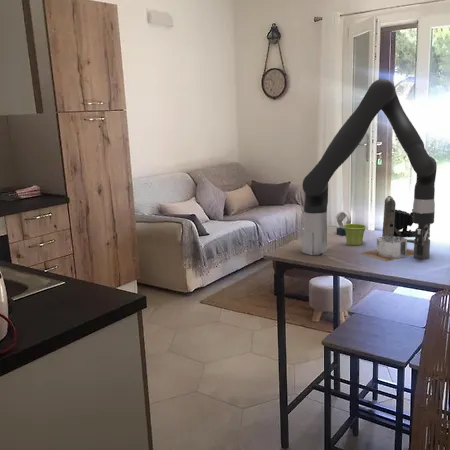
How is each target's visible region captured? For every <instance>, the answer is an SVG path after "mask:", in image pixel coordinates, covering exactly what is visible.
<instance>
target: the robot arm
mask: <svg viewBox="0 0 450 450" xmlns="http://www.w3.org/2000/svg"><path fill="white" fill-rule="evenodd" d="M380 111H382V112H383V114H384V115H385V116H386V118H387V119H388V122H389V123H390V125H391V128H392V130H393V132H394V135H395V136H396V140H398V142H399V143H400V146H401V147H402V149H403V150H404V152H405V153H406V156H407V157H408V160H409V163H410V165H411V167H412V170H413V171H414V172H415V174H416V180H415V181H416V182H415V185H414V190H413V191H414V192H413V193H414V194H413V204H412V205H413V206H412V209H413V224H415V225H418V226H417V227H416V229H415V230H414V231H416V234H415V237H414V239H415V245H417V252H416V254H417V255H420V256H422V255H423V245H424V241H425V240H426V239H430V236H431V225H432V224H435V213H436V212H435V211H436V209H435V208H436V203H435V194H436V191H435V189H436V188H435V187H436V177H437V166H438V165H437V161H436V160H435V158H434V157H432V156H430V155H429V153H428V152H427V150H426V148H425V144H424V141H423V139H422V138H421V136H420V134H419V133H418V131H417V129H416V128H415V126H414V125H413V123H412V121H411V120H410V119H409V117H408V116H407V114H406V112H405V111H404V108H403V106H402V105H401V102H400V99H399V97H398V93H397V91H396V87H395V85H394V83H392V82H391V81H390V80H389V79H386V78H379V79H376V80H375V81H373V82H372V83H371V85H370V86H369V87H368V89H367V91H366V92H365V95H363V98H362V100H361V101H360V103H359V104H358V106H357V108H356V109H355V110H354V111H353V113H352V114H351V115H350V116H349V117H348V118H347V120H346V121H345V122H344V124H343V125H342V126H341V127H340V128H339V130H338V132H337V133H336V134H335V135H334V137H333V139H332V141H330V143H329V145H328V147H326V150H324V153H323V155H322V156H321V159H319V161H318V163H317V164H316V165H315V166H314V167H313V169H311V171H309V172H308V174H307V175H306V176H304V179H303V180H302V184H301V185H302V190H303V192H304V193H305V194H304V195H305V199H304V204H303V229H302V230H301V234H302V235H301V252H302V254H306V255H310V256H321V255H323V254H324V253H326V252H327V251H328V248H327V247H328V204H329V182H330V180H331V178H332V177H333V175H334V174H335V173H336V171H337V170H338V169H339V168H340V167H341V166H342V165H343V164H344V162H346V160H348V159H349V158H350V156H351V155H352V154H353V153H354V152H355V151H356V149H357V147H359V145H360V144H361V142H362V140H363V139H364V137H365V136H366V134H367V132H368V129H369V128H370V126H371V123H372V122H373V121H374V119H375V118H376V116H377V115H378V113H379V112H380ZM419 240H421V242H418V241H419Z"/></svg>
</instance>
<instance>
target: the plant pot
mask: <svg viewBox="0 0 450 450" xmlns="http://www.w3.org/2000/svg"><path fill="white" fill-rule="evenodd" d="M343 225H344V228H345V232H346V236H345V240H346V246H361V245H362V244H363V239H364V236H365V235H364V233H365V230H366V228H367V225H365V224H362V223H351V224H346V223H345V224H343Z"/></svg>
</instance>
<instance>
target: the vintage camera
mask: <svg viewBox="0 0 450 450" xmlns="http://www.w3.org/2000/svg"><path fill="white" fill-rule="evenodd" d="M396 206H397V205H396V201H395V199H394V198H393V197H392V196H391V195H388V196H387V197H385V199H384V209H383V222H382V235H381V237H383V236H397V237H403V238H415V234H416V231H415V230H412V229H409V230H408V227H412V226H413V224H414V223H413V208H412V209H411V212H410V213H409V212H407V211H404V210H402V209H396Z"/></svg>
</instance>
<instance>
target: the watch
mask: <svg viewBox="0 0 450 450" xmlns="http://www.w3.org/2000/svg"><path fill="white" fill-rule="evenodd" d="M345 218H346V221H345V224H343V221H344V220H345ZM335 219H336V222H337V225H338V227H336V235H338V236H340V237H344V236H345V237H346V232H345V228H344V225H346V224H352V215H351V214H350V212H349V211H345V210H344V211H343V210H342V211H340V212H338V213H337V214H336V215H335Z"/></svg>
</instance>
